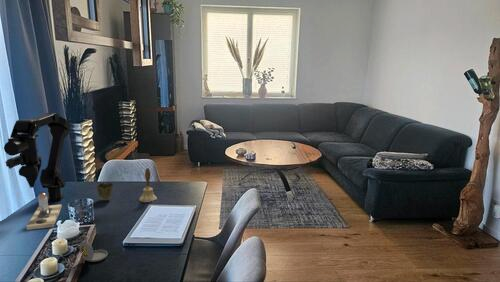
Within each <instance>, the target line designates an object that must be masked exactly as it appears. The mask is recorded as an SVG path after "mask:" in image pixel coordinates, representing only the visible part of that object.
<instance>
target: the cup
mask: <svg viewBox="0 0 500 282" xmlns="http://www.w3.org/2000/svg"><path fill="white" fill-rule="evenodd" d="M96 190H97V195H98V196H99V198H101V200H102V201H103V202H107V201H109V200H110V199H111V197H112V195H113V192H114V183H113V182H111V181H110V182H109V181H108V182H107V183H105V182H104V181H103V182H100V183H99V184H97V185H96Z"/></svg>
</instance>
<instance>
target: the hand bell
mask: <svg viewBox="0 0 500 282" xmlns="http://www.w3.org/2000/svg"><path fill="white" fill-rule="evenodd" d="M144 179H145V182H146V183H145V187H144V188H143V190H142V195H141V196H140V197H139V198H138V199H139V201H140V202H141V203H151V201H152V202H155V201H157V198H158V197H157V196H156V195H155V194H154V190H153V187H151V186H150V185H151V184H150V183H151V182H150V179H151V171H150V168H149V167H147V168H146V169H145V172H144ZM154 200H155V201H154Z"/></svg>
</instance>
